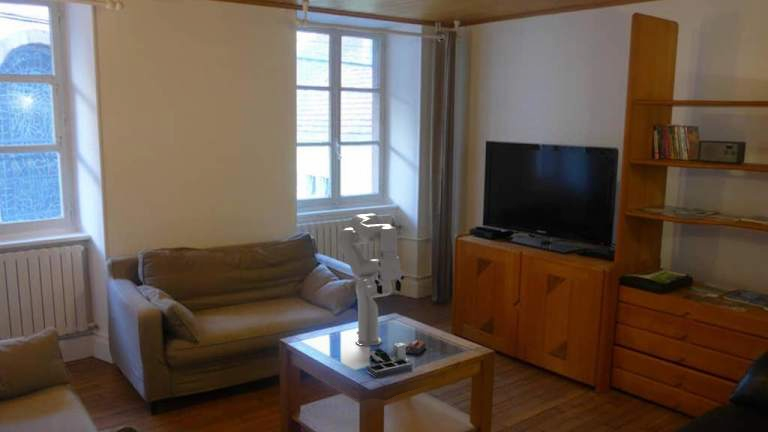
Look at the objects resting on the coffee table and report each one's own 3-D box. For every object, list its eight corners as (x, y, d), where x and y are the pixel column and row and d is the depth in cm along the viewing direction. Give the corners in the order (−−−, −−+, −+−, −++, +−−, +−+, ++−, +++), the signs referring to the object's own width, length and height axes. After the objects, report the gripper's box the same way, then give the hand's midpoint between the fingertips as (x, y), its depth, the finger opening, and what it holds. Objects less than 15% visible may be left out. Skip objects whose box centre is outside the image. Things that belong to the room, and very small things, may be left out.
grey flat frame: (376, 377, 282) (376, 372, 282) (366, 371, 289) (366, 366, 289) (411, 369, 292) (411, 363, 291) (401, 363, 298) (401, 358, 298)
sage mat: (388, 359, 304) (388, 358, 304) (401, 356, 308) (401, 355, 308) (396, 364, 298) (396, 362, 298) (409, 361, 302) (409, 359, 302)
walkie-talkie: (409, 344, 324) (395, 356, 305) (409, 335, 323) (395, 347, 305) (426, 347, 321) (413, 359, 302) (427, 337, 320) (414, 349, 302)
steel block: (393, 358, 303) (393, 343, 302) (401, 357, 305) (401, 342, 304) (397, 361, 300) (397, 346, 299) (405, 360, 301) (405, 344, 300)
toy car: (380, 358, 307) (380, 346, 306) (393, 366, 296) (393, 354, 296) (369, 360, 304) (368, 349, 303) (381, 368, 294) (381, 356, 293)
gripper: (376, 258, 293) (376, 296, 295) (409, 253, 302) (409, 291, 304) (367, 255, 299) (368, 293, 301) (400, 251, 308) (400, 287, 310)
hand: (389, 292), depth 303 cm, fingers open, 9 cm apart
